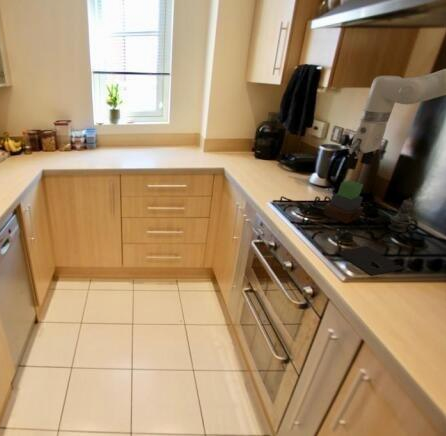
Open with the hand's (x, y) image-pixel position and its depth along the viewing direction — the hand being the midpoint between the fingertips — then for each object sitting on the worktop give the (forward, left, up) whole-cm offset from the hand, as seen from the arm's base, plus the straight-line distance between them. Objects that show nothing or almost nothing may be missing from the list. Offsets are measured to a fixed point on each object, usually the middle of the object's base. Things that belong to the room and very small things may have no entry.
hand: (357, 166), depth 113 cm
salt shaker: (-11, +13, -20) cm, 27 cm away
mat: (+16, +26, -20) cm, 37 cm away
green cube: (0, 0, -12) cm, 12 cm away
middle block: (0, 0, -16) cm, 16 cm away
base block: (0, 0, -20) cm, 20 cm away
